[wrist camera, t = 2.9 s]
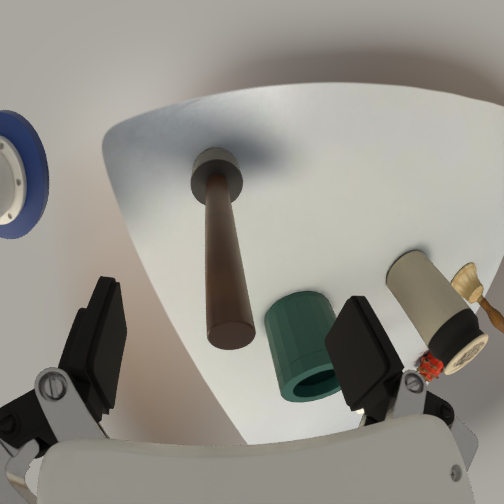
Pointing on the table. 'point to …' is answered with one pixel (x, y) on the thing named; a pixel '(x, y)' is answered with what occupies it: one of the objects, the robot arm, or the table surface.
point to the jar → (302, 346)
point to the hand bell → (475, 293)
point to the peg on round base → (222, 251)
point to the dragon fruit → (430, 367)
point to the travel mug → (436, 311)
